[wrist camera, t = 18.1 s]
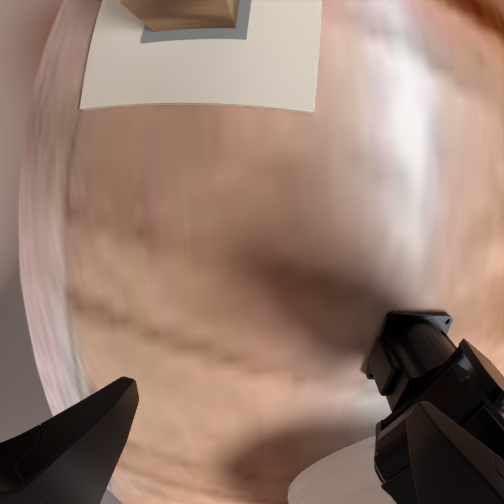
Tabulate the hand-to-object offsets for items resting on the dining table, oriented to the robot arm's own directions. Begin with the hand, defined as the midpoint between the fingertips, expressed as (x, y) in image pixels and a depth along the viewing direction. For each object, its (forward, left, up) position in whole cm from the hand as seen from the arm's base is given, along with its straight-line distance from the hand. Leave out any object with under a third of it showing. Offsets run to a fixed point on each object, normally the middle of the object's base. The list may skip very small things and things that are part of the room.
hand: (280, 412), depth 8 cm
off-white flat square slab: (+7, -18, -13) cm, 23 cm away
